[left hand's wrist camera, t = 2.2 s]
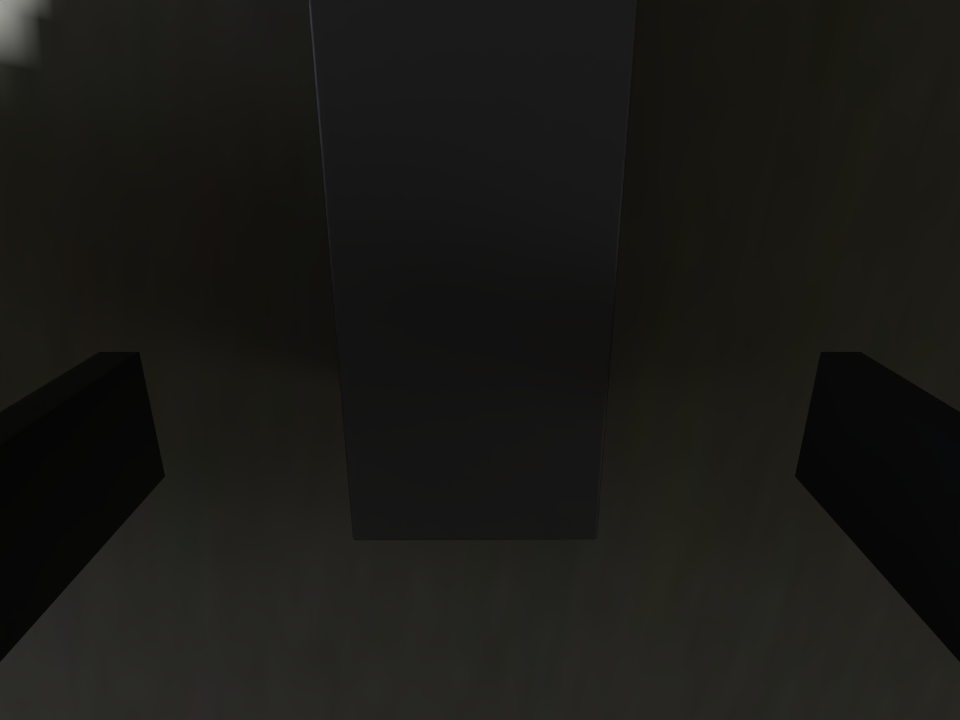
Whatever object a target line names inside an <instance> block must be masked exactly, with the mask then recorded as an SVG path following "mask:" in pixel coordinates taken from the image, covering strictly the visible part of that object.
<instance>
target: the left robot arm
mask: <svg viewBox="0 0 960 720" xmlns="http://www.w3.org/2000/svg"><path fill="white" fill-rule="evenodd" d="M164 477H165V474H164V469H163V465H162V460H161V455H160V450H159V445H158V441H157V436H156V431H155V426H154V421H153V417H152V412H151V407H150V402H149V397H148V393H147V388H146V383H145V378H144V373H143V369H142V364H141V359H140V354H139V352H99V353H97V354H95V355H94V356H92V357H90V358H89V359H87V360H85V361H84V362H82V363H80V364H79V365H77V366H76V367H74V368H72V369H71V370H69V371H67V372H66V373H64V374H62V375H61V376H59V377H57V378H56V379H54V380H52V381H51V382H49V383H47V384H46V385H44V386H42V387H41V388H39V389H38V390H36V391H34V392H33V393H31V394H29V395H28V396H26V397H24V398H23V399H21V400H19V401H18V402H16V403H14V404H13V405H11V406H9V407H8V408H6V409H5V410H3V411H1V412H0V661H1V660H2V659H3V658H4V657H5V656H6V655H7V654H8V652H9V651H10V650H11V649H12V648H13V647H14V646H15V645H16V643H17V642H18V641H19V640H20V639H21V638H22V637H23V636H24V634H25V633H26V632H27V631H28V630H29V629H30V628H31V627H32V625H33V624H34V623H35V622H36V621H37V620H38V619H39V618H40V616H41V615H42V614H43V613H44V612H45V611H46V610H47V609H48V607H49V606H50V605H51V604H52V603H53V602H54V601H55V600H56V598H57V597H58V596H59V595H60V594H61V593H62V592H63V591H64V589H65V588H66V587H67V586H68V585H69V584H70V583H71V582H72V580H73V579H74V578H75V577H76V576H77V575H78V574H79V573H80V571H81V570H82V569H83V568H84V567H85V566H86V565H87V564H88V562H89V561H90V560H91V559H92V558H93V557H94V556H95V555H96V553H97V552H98V551H99V550H100V549H101V548H102V547H103V546H104V544H105V543H106V542H107V541H108V540H109V539H110V538H111V536H112V535H113V534H114V533H115V532H116V531H117V530H118V529H119V527H120V526H121V525H122V524H123V523H124V522H125V521H126V520H127V518H128V517H129V516H130V515H131V514H132V513H133V512H134V511H135V509H136V508H137V507H138V506H139V505H140V504H141V503H142V502H143V500H144V499H145V498H146V497H147V496H148V495H149V494H150V493H151V491H152V490H153V489H154V488H155V487H156V486H157V485H158V484H159V482H160V481H161V480H162V479H163V478H164ZM795 477H796V478H797V479H798V480H799V481H800V482H801V484H802V485H803V486H804V487H805V488H806V489H807V490H808V491H809V493H810V494H811V495H812V496H813V497H814V498H815V499H816V500H817V502H818V503H819V504H820V505H821V506H822V507H823V508H824V509H825V511H826V512H827V513H828V514H829V515H830V516H831V517H832V518H833V520H834V521H835V522H836V523H837V524H838V525H839V526H840V527H841V529H842V530H843V531H844V532H845V533H846V534H847V535H848V536H849V538H850V539H851V540H852V541H853V542H854V543H855V544H856V546H857V547H858V548H859V549H860V550H861V551H862V552H863V553H864V555H865V556H866V557H867V558H868V559H869V560H870V561H871V562H872V564H873V565H874V566H875V567H876V568H877V569H878V570H879V571H880V573H881V574H882V575H883V576H884V577H885V578H886V579H887V580H888V582H889V583H890V584H891V585H892V586H893V587H894V588H895V589H896V591H897V592H898V593H899V594H900V595H901V596H902V597H903V598H904V600H905V601H906V602H907V603H908V604H909V605H910V606H911V607H912V609H913V610H914V611H915V612H916V613H917V614H918V615H919V616H920V618H921V619H922V620H923V621H924V622H925V623H926V624H927V625H928V627H929V628H930V629H931V630H932V631H933V632H934V633H935V634H936V636H937V637H938V638H939V639H940V640H941V641H942V642H943V643H944V645H945V646H946V647H947V648H948V649H949V650H950V651H951V652H952V654H953V655H954V656H955V657H956V658H957V659H958V660H959V661H960V412H959V411H957V410H955V409H954V408H952V407H951V406H949V405H947V404H946V403H944V402H942V401H941V400H939V399H937V398H936V397H934V396H932V395H931V394H929V393H927V392H926V391H924V390H922V389H921V388H919V387H918V386H916V385H914V384H913V383H911V382H909V381H908V380H906V379H904V378H903V377H901V376H899V375H898V374H896V373H894V372H893V371H891V370H889V369H888V368H886V367H884V366H883V365H881V364H880V363H878V362H876V361H875V360H873V359H871V358H870V357H868V356H866V355H865V354H863V353H861V352H821V354H820V359H819V364H818V369H817V373H816V378H815V383H814V388H813V393H812V397H811V402H810V407H809V412H808V417H807V421H806V426H805V431H804V436H803V441H802V445H801V450H800V455H799V460H798V465H797V469H796V474H795Z"/></svg>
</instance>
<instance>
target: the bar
mask: <svg viewBox="0 0 960 720" xmlns="http://www.w3.org/2000/svg"><path fill="white" fill-rule="evenodd" d="M308 4H309V16H310V27H311V39H312V51H313V63H314V75H315V87H316V99H317V111H318V123H319V135H320V147H321V159H322V171H323V183H324V195H325V207H326V219H327V231H328V243H329V255H330V267H331V279H332V291H333V303H334V315H335V327H336V339H337V351H338V363H339V375H340V387H341V399H342V411H343V423H344V435H345V447H346V459H347V471H348V483H349V495H350V507H351V519H352V531H353V538H354V540H507V539H596V537H597V527H598V514H599V501H600V488H601V475H602V462H603V449H604V436H605V423H606V410H607V397H608V384H609V371H610V358H611V344H612V331H613V318H614V305H615V292H616V279H617V266H618V253H619V240H620V227H621V214H622V201H623V188H624V175H625V162H626V149H627V136H628V123H629V110H630V97H631V84H632V71H633V58H634V45H635V31H636V18H637V5H638V0H308Z"/></svg>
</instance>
